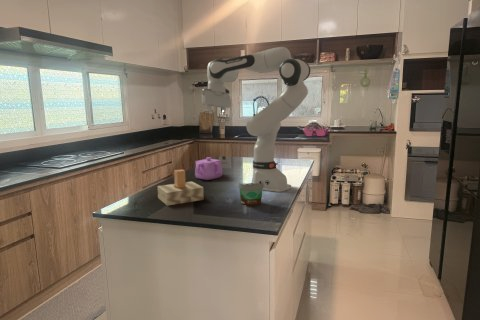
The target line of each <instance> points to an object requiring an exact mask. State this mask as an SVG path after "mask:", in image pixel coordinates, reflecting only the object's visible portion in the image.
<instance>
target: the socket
mask: <svg viewBox="0 0 480 320" xmlns="http://www.w3.org/2000/svg"><path fill="white" fill-rule="evenodd" d="M185 183H186V187H185V188H178V189H177V188H175V183H170V184H162V185H157V198H158V200H160V201H161V202H162V203H164V205H166V206H172V205H173V206H174V205H179V204H185V203H193V202H197V201H203V200H204V198H205V197H204V187H203V186H202V185H200V184H198V183H197V182H194V181H185Z"/></svg>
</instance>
